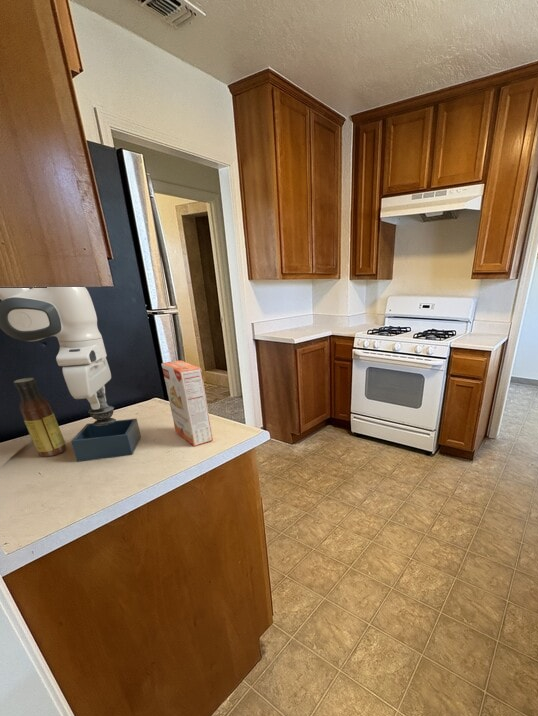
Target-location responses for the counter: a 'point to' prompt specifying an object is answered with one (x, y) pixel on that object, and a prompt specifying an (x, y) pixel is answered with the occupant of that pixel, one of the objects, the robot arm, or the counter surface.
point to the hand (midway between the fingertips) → (99, 405)
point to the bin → (106, 440)
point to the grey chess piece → (102, 411)
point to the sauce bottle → (39, 419)
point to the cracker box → (188, 401)
